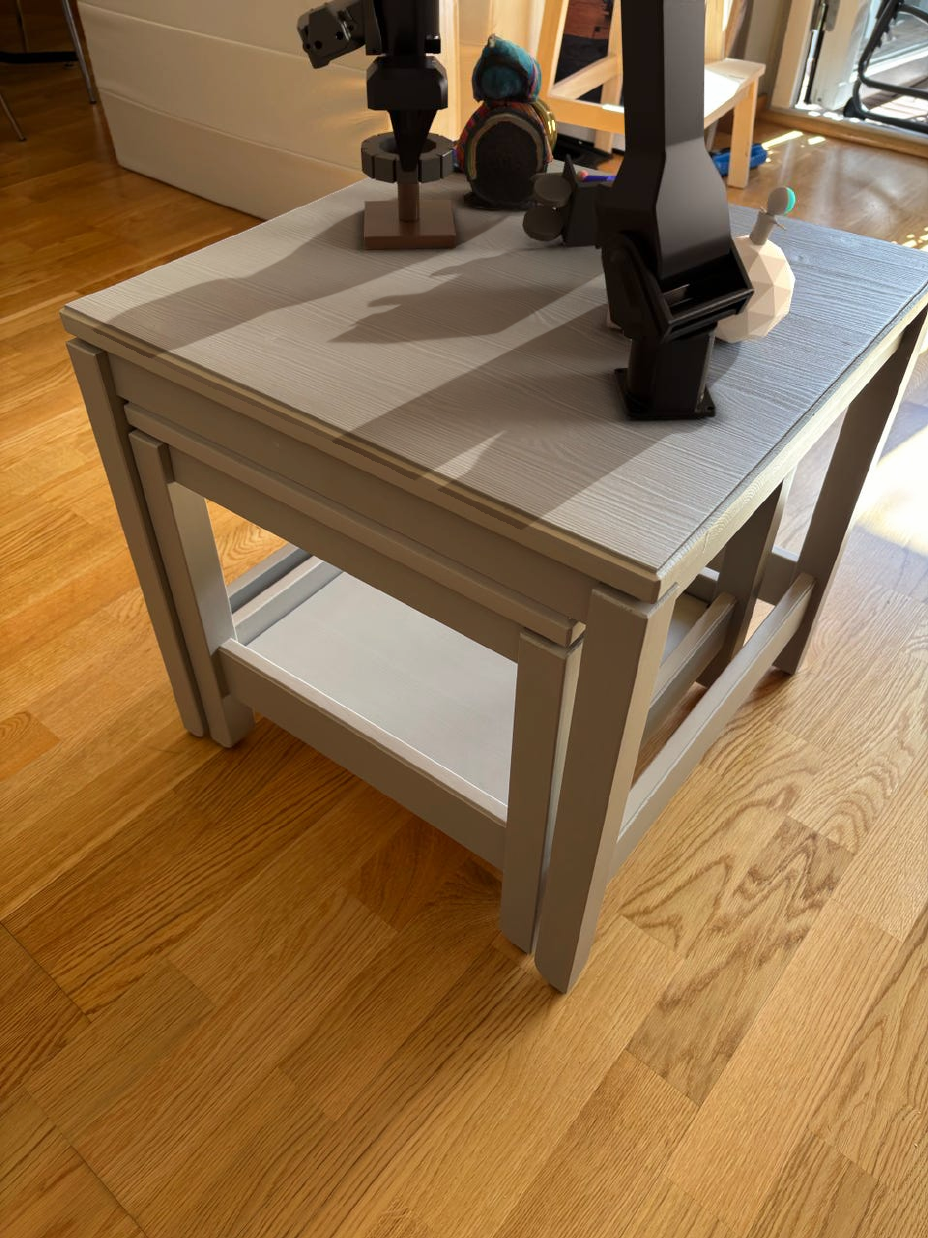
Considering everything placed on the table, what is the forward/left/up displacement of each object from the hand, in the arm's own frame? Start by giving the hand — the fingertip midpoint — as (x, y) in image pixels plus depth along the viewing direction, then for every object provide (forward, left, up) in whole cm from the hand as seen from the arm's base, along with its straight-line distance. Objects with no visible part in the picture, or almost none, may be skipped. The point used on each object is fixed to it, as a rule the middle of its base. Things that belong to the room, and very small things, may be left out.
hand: (408, 166), depth 85 cm
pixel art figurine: (+19, -4, -7) cm, 21 cm away
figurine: (+11, -10, -7) cm, 16 cm away
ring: (+3, 0, -1) cm, 4 cm away
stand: (+3, 0, -7) cm, 8 cm away
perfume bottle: (-19, -24, -7) cm, 31 cm away
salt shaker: (+15, -11, -2) cm, 19 cm away
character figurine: (0, -18, -7) cm, 19 cm away
